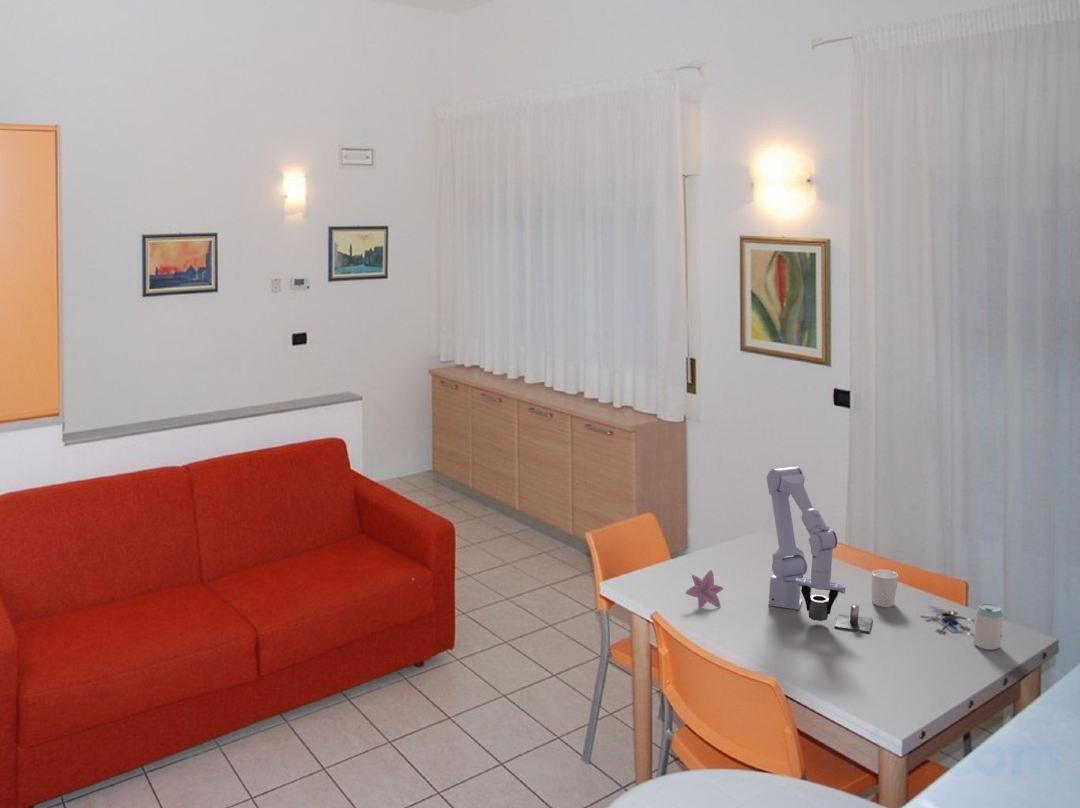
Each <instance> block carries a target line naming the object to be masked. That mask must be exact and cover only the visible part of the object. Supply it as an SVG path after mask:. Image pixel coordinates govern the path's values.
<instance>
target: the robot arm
mask: <svg viewBox="0 0 1080 808" xmlns="http://www.w3.org/2000/svg"><path fill="white" fill-rule="evenodd" d="M766 481H767V488H768V494H769V495H770V496H771V503H772V509H773V515H774V516H773V517H774V522H775V523H774V524H775V529H776V536H777V542H778V549H776V551H775V552H774V553H772V556H771V558H772V564H771V570H772V572H773V574H771V577H770V581H769V593H768V604H767V605H768V606H771V607H776V608H777V607H778V608H784V609H791V610H797V611H799V610H800V608H801V606H802V603H803V599H804V603H805V606H806V611H807V612H809V600H810V596H812V595H811V593H812V589H815V590H819V591H829V592H828V598H829V603H828V611H827V614H828V615H830V614H831V611H832V606H833V604H834V602H835V601H836V599H837V598H838V595H839V593H841V594H845V593H846V590H847V589H846V587H847V586H846V585H845V584H840V583H837V582H833V581H832V580H831V578H832V562H833V550H834V549H836V548H837V545H838V537H837V534H836V532H835V531H834V529H831V527H830V526H827V524H826V522H825V520H824V518H823V517H822V515H821V513H820V510H818V509H816V508H814V507H813V505H812V503H811V500H810V497H809V495H808V493H807V490H806V488H805V486H804V485H805V475H804V472H803V470H802V469H801V467H799V466H797V465H794V466H790V467H789V466H788V467H783V468H782V467H781V468H772V469H770V470H769V471H768V473H767V476H766ZM790 496H791V497H792V499H793V500H794V502H795V503H796V505H797V507H798V508H799V509H800V512H801V513H802V515H801V517H800V519H801V521H802V523H803V526H804V527H805V529H806V531H807V532H808V534H809V538H808V543H809V546H810V547H809V548H810V553H811V556H812V557H811V558H812V559H811V573H810V574H811V575H810V578H804V575H806V574H807V573H808V572H807V570H808V563H807V559H806V558H805V555H804V554H805V553H804V551H803V550H801V548H799V547H798V546H796V538H795V537H796V536H795V531H794V526H793V525H794V524H793V519H792V518H793V517H792V512H791V506H790V499H789V497H790ZM801 594H802V596H803V597H802V598H803V599H802V598H801V597H800V596H801Z"/></svg>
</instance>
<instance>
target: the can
mask: <svg viewBox="0 0 1080 808" xmlns="http://www.w3.org/2000/svg"><path fill="white" fill-rule="evenodd" d="M978 606H979V607H978V608H977V609H976V610H975V622H974V629H973V630H974V631H973V641H972V642H973V644H974V645H975V646H976V647H977V646H978V647H977V648H979V649H981V650H985V651H995V650H998V649H999V648H1000V647H1001V641H1002V640H1001V639H1002V638H1001V637H1002V629H1003V628H1002V627H1003V619H1004V614H1003V612H1002V608H1001V607H999V606H998V605H997V604H992V603H981V604H980V605H978ZM994 649H995V650H994Z"/></svg>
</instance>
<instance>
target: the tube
mask: <svg viewBox="0 0 1080 808" xmlns="http://www.w3.org/2000/svg"><path fill="white" fill-rule="evenodd" d="M828 603H829V597H828V596H825V595H822V594H813V595H810V600H809V611H808V618H809V619H811V620H812V621H816V622H817V621H818V622H819V621H820V622H823V621H827V620H828V618H829V614H827V611H828Z"/></svg>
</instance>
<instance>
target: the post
mask: <svg viewBox="0 0 1080 808" xmlns="http://www.w3.org/2000/svg"><path fill="white" fill-rule="evenodd" d="M849 610H850V613H849V614H844V613H838V614H837V617H836V621H835V625H834V628H835V629H837V630H844V629H845V630H844V631H850V630H853V632H857V631H860V632H859V633H863V632H866V633H865V634H870V632H871V627H872V623H873V618H870V617H864V616H859V615H860V614H859V612H860V611H859V610H860V606H859V605H858V604H851V605H850V609H849Z"/></svg>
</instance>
